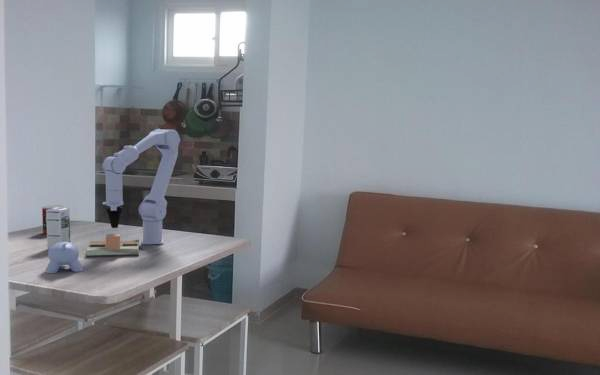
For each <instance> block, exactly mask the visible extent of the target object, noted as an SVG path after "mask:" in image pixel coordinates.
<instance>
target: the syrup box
mask: <svg viewBox="0 0 600 375" xmlns="http://www.w3.org/2000/svg"><path fill="white" fill-rule="evenodd" d="M46 220H47V234H46V242H47V243H46V244H47V245H46V246H47V249H48V250H49V249H50V248H51V247H52V246H53V245H54V244H56V243H59V242H69V243H71V224H70V223H71V222H70V221H71V220H70V208H69V207H63V208H62V207H60V208H53V209H48V210H46Z"/></svg>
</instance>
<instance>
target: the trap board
mask: <svg viewBox="0 0 600 375" xmlns="http://www.w3.org/2000/svg"><path fill="white" fill-rule="evenodd" d="M139 252H140V240H139V239H120V249H110V250H106V240H90V241H89V244H88V246H87V248H86V258H98V257H99V258H103V257H104V258H107V257H139V254H140V253H139Z"/></svg>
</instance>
